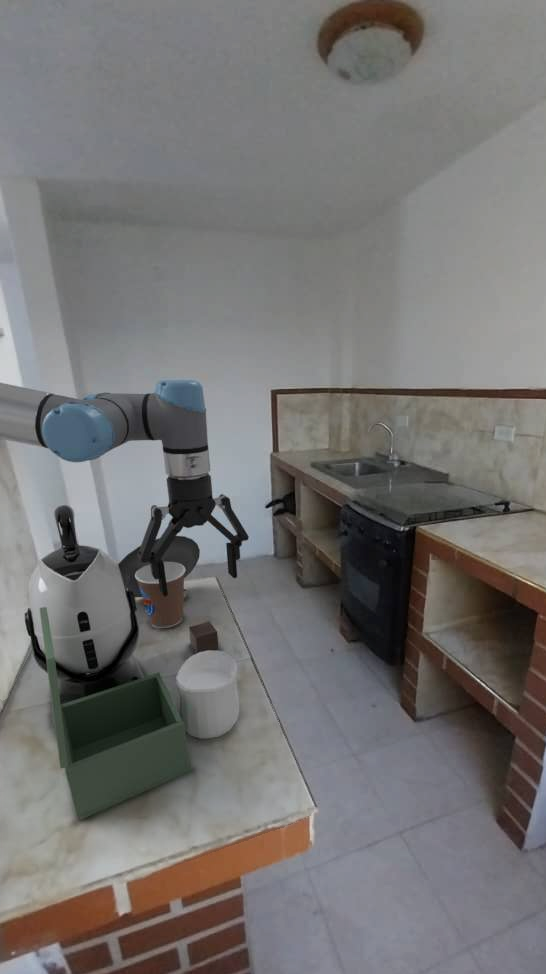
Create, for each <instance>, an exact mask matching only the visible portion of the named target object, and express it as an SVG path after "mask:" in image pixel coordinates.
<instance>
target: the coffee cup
mask: <svg viewBox="0 0 546 974" xmlns="http://www.w3.org/2000/svg"><path fill="white" fill-rule="evenodd" d="M163 563H164V569H165V577H166V584H167V592H168V595H167V596H163V594H162V593H161V591H160V588H159V581H158V579H156V580H155V579H154V577H153V576H152V573H151V566H150V565H146V566H143V567H141V568H140V569H139V570H137V572H136V573H135V578H136V579H137V581H138V584H139V588H140V592H141V595H142V597H141V598H142V601H143V604H144V608H145V611H146V615H147V619H148V621H149V623H150V625H151V626H152V627H154V628H157V629H168V628H172V627H174V626H177V625H179V624H180V623H181V622H182V620H183V616H184V600H185V598H184V589H185V578H184V573H185V567H184V566H183V565H182V564H179V563H176V562H163Z"/></svg>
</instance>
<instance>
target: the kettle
mask: <svg viewBox="0 0 546 974" xmlns="http://www.w3.org/2000/svg"><path fill="white" fill-rule="evenodd" d="M53 517H54V520H55V524H56V528H57V532H58V535H59V539H60V545H61V547H60V548H57V549H56V550H54V551H51V552H50V553H48V554H47V555H45V556H44V557H42V558H40V559H39V562H38V564H36V566H35V568H34V569H33V571H32V572H31V574H30V577H29V580H28V596H29V597H28V599H29V605H30V607H28V608H27V610H26V612H24V624H25V628H26V631H27V635H28V637H30V641H31V648H32V655H33V658H34V660H35V661H34V662H35V663H36V664H37V666H38V667H39V668H40V669H41V670H42V671H43V672H45V673H46V674H47V675H48V670H47V662H46V655H45V647H44V639H43V632H42V624H41V616H40V608H43V607H46V608H47V613H48V620H49V626H50V632H51V638H52V644H53V650H54V656H55V664H56V672H57V680H58V688H59V696H60V704H61V705H62V704H65V703H68V702H71V701H74V700H77V699H80V698H83V697H86V696H89V695H92V694H95V693H98V692H101V691H104V690H107V689H110V688H113V687H116V686H119V685H122V684H125V683H128V682H131V681H135V680H138V679H141V678H144V677H145V675H144V673H143V671H142V669H141V667H140V665H139V664H138V662H137V661H136V660H135V658H134V657H133V654H134V653H135V651H136V650H137V647H138V644H139V641H140V628H139V623H138V619H137V615H136V612H137V611H138V608H137V601H136V597H135V596H134V593H133V590H130V589H129V587H127V590H125V587H124V583H123V579H122V576H121V572H120V569H119V566H118V564H119V563H117V561H116V560H115V559H114V558H113V557H112V556H111V555H109V554H108V553H106V552H104V551H103V550H102V548H97V547H94V546H90V545H84V544H83V545H82V544H81V545H80V544H79V543H78V539H77V533H76V525H75V517H76V513H75V509H74V508H73V507H71V506H70V505H67V504H61V505H58V506H57V507H55V509H54V511H53ZM106 672H108V673H107V674H106V675H104V676H103V677H102V678H99V679H97V680H91V681H88V680H87V681H86V680H82V679H83V678H93V677H97V676H99V675H102V674H104V673H106ZM51 709H52V710H51V712H53V708H52V707H51ZM52 720H53V725H54V726H55V723H54V716H53V715H52Z"/></svg>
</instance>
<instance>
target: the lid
mask: <svg viewBox="0 0 546 974" xmlns="http://www.w3.org/2000/svg"><path fill="white" fill-rule="evenodd" d="M40 616H41V624H42V632H43V639H44V647H45V655H46V662H47V670H48V674H47V677H48V685H49V693H50V700H51V709H52V708H53V711H52V717H53V716H54V721H53V724H54V723H55V725H54V729H55V737H56V744H57V752H58V759H59V760H58V761H59V764H60V765H59V766H60V769H65V767H68V761H67V753H66V745H65V737H64V729H63V721H62V712H61V704H60V696H59V688H58V680H57V672H56V664H55V656H54V650H53V644H52V638H51V632H50V626H49V620H48V613H47V608H46V607H43V608H40Z"/></svg>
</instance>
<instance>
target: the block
mask: <svg viewBox="0 0 546 974" xmlns="http://www.w3.org/2000/svg"><path fill="white" fill-rule="evenodd" d="M217 630H218V629H216V627H214V625H213V624H212V622H211V621H210V620H209V621H205V622H201V623H198V624H194V625H191V626H188V633H189V634H188V635H189V643H190V647H191V648H192V650H193V652H194V653H195V654H197V653H199V652H203V651H208V650H213V651H220V650H219V648H220V647H219V636H218V631H217Z"/></svg>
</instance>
